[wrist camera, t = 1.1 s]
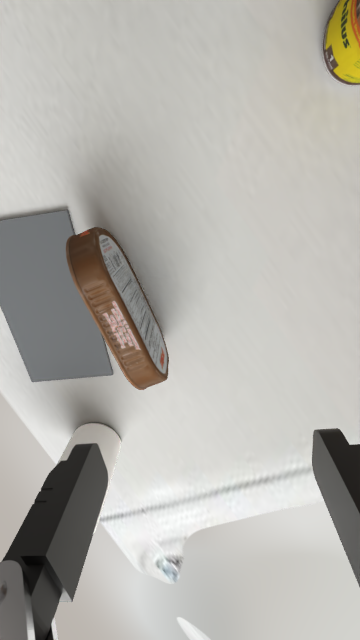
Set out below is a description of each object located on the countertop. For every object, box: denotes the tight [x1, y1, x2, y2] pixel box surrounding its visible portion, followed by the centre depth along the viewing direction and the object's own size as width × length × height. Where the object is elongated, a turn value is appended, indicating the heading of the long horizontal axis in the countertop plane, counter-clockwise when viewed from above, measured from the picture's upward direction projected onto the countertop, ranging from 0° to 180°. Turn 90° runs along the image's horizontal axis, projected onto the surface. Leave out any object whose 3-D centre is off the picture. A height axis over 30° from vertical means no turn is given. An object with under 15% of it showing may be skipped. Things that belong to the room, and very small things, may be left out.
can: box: [58, 423, 121, 534], centre depth 32 cm, size 6×6×12 cm
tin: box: [66, 227, 169, 390], centre depth 25 cm, size 15×3×8 cm, turn 22°
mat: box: [0, 210, 113, 382], centre depth 30 cm, size 18×10×1 cm, turn 8°
